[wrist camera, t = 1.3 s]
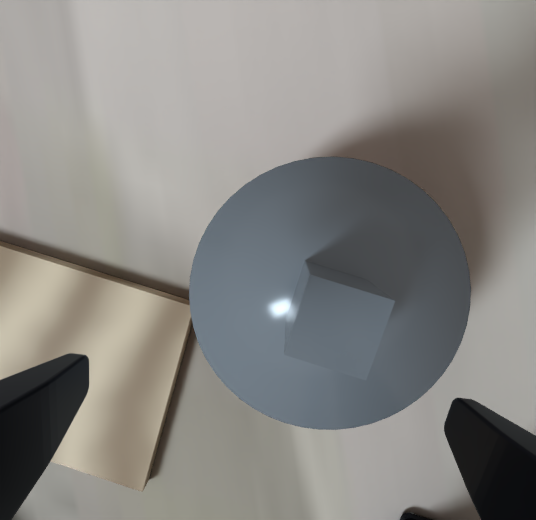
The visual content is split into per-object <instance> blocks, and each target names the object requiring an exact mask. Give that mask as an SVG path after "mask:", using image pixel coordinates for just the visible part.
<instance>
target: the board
mask: <svg viewBox="0 0 536 520" xmlns="http://www.w3.org/2000/svg"><path fill="white" fill-rule="evenodd" d="M191 326H192V318H191V313H190V300H187V299H184V298H181V297H178V296H175V295H171V294H168V293H165V292H162V291H159V290H155V289H152V288H149V287H146V286H143V285H140V284H136V283H133V282H130V281H127V280H124V279H120V278H117V277H114V276H111V275H108V274H104V273H101V272H98V271H95V270H92V269H89V268H85V267H82V266H79V265H76V264H73V263H69V262H66V261H63V260H60V259H57V258H53V257H50V256H47V255H44V254H41V253H38V252H34V251H31V250H28V249H25V248H22V247H18V246H15V245H12V244H9V243H6V242H2V241H0V380H1V379H4V378H6V377H9V376H11V375H14V374H16V373H19V372H22V371H24V370H27V369H29V368H32V367H35V366H37V365H40V364H42V363H45V362H47V361H50V360H53V359H55V358H58V357H60V356H63V355H65V354H68V353H74V354H83V355H86V356H87V357H88V358H89V389H88V393H87V395H86V397H85V399H84V401H83V403H82V405H81V406H80V408H79V410H78V412H77V414H76V416H75V418H74V419H73V421H72V423H71V425H70V427H69V429H68V431H67V432H66V434H65V436H64V438H63V440H62V442H61V444H60V445H59V447H58V449H57V451H56V453H55V454H54V456H53V458H52V459H51V462H54V463H57V464H60V465H63V466H66V467H69V468H72V469H75V470H78V471H81V472H84V473H87V474H90V475H93V476H96V477H99V478H102V479H105V480H108V481H111V482H114V483H117V484H120V485H123V486H126V487H129V488H132V489H135V490H138V491H141V492H143V490H144V488H145V486H146V484H147V482H148V480H149V477H150V473H151V470H152V466H153V462H154V459H155V455H156V452H157V448H158V444H159V441H160V437H161V434H162V430H163V426H164V423H165V419H166V416H167V412H168V409H169V405H170V401H171V398H172V394H173V391H174V387H175V383H176V380H177V376H178V373H179V369H180V365H181V362H182V358H183V355H184V351H185V347H186V344H187V340H188V337H189V333H190V329H191Z"/></svg>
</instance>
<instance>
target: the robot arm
mask: <svg viewBox="0 0 536 520" xmlns="http://www.w3.org/2000/svg"><path fill="white" fill-rule="evenodd" d="M88 389H89V358H88V357H87V356H86V355H83V354H74V353H68V354H65V355H63V356H60V357H58V358H55V359H53V360H50V361H47V362H45V363H42V364H40V365H37V366H35V367H32V368H29V369H27V370H24V371H22V372H19V373H16V374H14V375H11V376H9V377H6V378H4V379H1V380H0V520H12V518H13V517H14V515H15V514H16V512H17V511H18V509H19V508H20V506H21V505H22V503H23V502H24V500H25V499H26V497H27V496H28V494H29V493H30V491H31V490H32V488H33V487H34V485H35V484H36V482H37V481H38V479H39V478H40V476H41V475H42V473H43V472H44V470H45V469H46V467H47V466H48V464H49V463H50V461H51V459H52V458H53V456H54V454H55V453H56V451H57V449H58V447H59V445H60V444H61V442H62V440H63V438H64V436H65V434H66V432H67V431H68V429H69V427H70V425H71V423H72V421H73V419H74V418H75V416H76V414H77V412H78V410H79V408H80V406H81V405H82V403H83V401H84V399H85V397H86V395H87V393H88ZM444 431H445V435H446V438H447V441H448V443H449V446H450V448H451V450H452V453H453V455H454V458H455V460H456V463H457V465H458V468H459V470H460V473H461V475H462V478H463V480H464V483H465V485H466V488H467V490H468V492H469V495H470V497H471V499H472V502H473V504H474V506H475V508H476V510H477V512H478V514H479V516H480V518H481V520H536V436H535V435H533V434H532V433H530V432H528V431H526V430H525V429H523V428H521V427H519V426H518V425H516V424H514V423H513V422H511V421H509V420H507V419H506V418H504V417H502V416H500V415H499V414H497V413H495V412H494V411H492V410H490V409H488V408H487V407H485V406H483V405H481V404H480V403H478V402H476V401H474V400H472V399H464V398H456V399H454V400H453V402H452V404H451V407H450V410H449V413H448V416H447V418H446V421H445V425H444ZM400 520H431V519H428V518H424V517H421V516H418V515H415V514H412V513H405V514H403V515H402V516H401V519H400Z"/></svg>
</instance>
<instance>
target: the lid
mask: <svg viewBox="0 0 536 520" xmlns="http://www.w3.org/2000/svg"><path fill="white" fill-rule="evenodd" d="M470 295H471V286H470V276H469V268H468V264H467V260H466V256H465V252H464V250H463V247H462V245H461V242H460V240H459V237H458V235H457V233H456V231H455V229H454V228H453V226H452V224H451V222H450V221H449V219H448V217H447V216H446V215H445V214H444V212H443V211H442V210H441V208H440V207H439V206H438V205H437V203H436V202H435V201H434V200H433V199H432V198H431V197H429V196H428V195H427V194H426V193H425V192H424V191H423V190H422V189H421V188H419V187H418V186H417V185H415V184H414V183H413V182H411V181H410V180H408V179H407V178H405V177H403V176H401V175H400V174H398V173H396V172H394V171H392V170H390V169H388V168H385V167H382V166H380V165H377V164H374V163H371V162H367V161H362V160H358V159H353V158H343V157H317V158H309V159H304V160H299V161H294V162H291V163H288V164H285V165H282V166H279V167H276V168H274V169H272V170H270V171H268V172H266V173H263V174H261V175H259V176H258V177H256V178H255V179H253V180H252V181H250V182H249V183H247V184H246V185H244V186H243V187H242V188H241V189H239V190H238V191H237V192H236V193H235V194H234V195H232V196H231V197H230V198H229V199H228V200H227V202H226V203H225V204H224V205H223V206H222V207H221V208H220V209H219V211H218V212H217V213H216V215H215V216H214V218H213V219H212V221H211V222H210V224H209V225H208V226H207V228H206V230H205V232H204V234H203V236H202V238H201V240H200V242H199V245H198V248H197V251H196V254H195V257H194V260H193V265H192V270H191V275H190V288H189V300H190V313H191V318H192V323H193V328H194V331H195V334H196V337H197V340H198V343H199V345H200V347H201V349H202V351H203V354H204V356H205V358H206V360H207V361H208V363H209V364H210V366H211V367H212V369H213V370H214V372H215V373H216V375H217V376H218V377H219V378H220V379H221V381H222V382H223V383H224V384H225V385H226V386H227V387H228V388H229V389H230V390H231V391H232V392H233V393H234V394H235V395H236V396H237V397H239V398H240V399H241V400H242V401H244V402H245V403H247V404H248V405H250V406H251V407H252V408H254V409H256V410H258V411H259V412H261V413H263V414H265V415H267V416H269V417H271V418H274V419H276V420H279V421H281V422H284V423H287V424H291V425H295V426H299V427H304V428H312V429H329V430H337V429H346V428H354V427H359V426H363V425H367V424H371V423H374V422H377V421H379V420H382V419H385V418H387V417H389V416H391V415H393V414H395V413H397V412H399V411H401V410H403V409H405V408H406V407H407V406H409V405H410V404H412V403H413V402H415V401H416V400H418V399H419V398H420V397H421V396H422V395H423V394H425V393H426V392H427V391H428V390H429V389H430V388H431V387H432V386H433V385H434V384H435V383H436V381H437V380H438V379H439V378H440V377H441V376H442V375H443V373H444V372H445V370H446V369H447V367H448V366H449V364H450V363H451V361H452V360H453V358H454V356H455V354H456V352H457V350H458V348H459V346H460V344H461V341H462V338H463V335H464V332H465V329H466V326H467V321H468V315H469V310H470Z"/></svg>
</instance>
